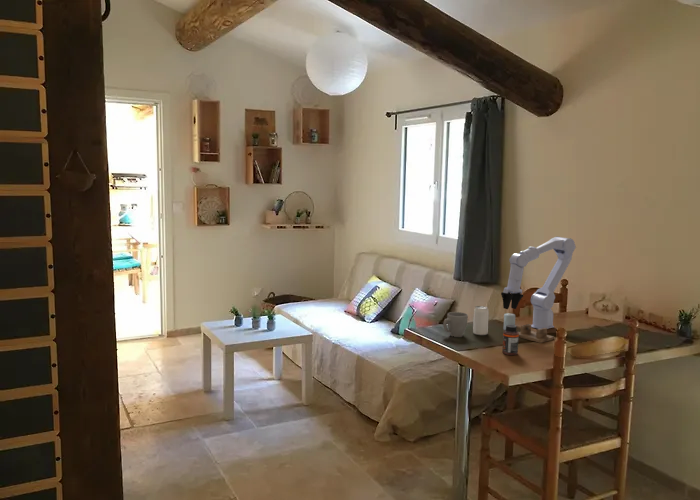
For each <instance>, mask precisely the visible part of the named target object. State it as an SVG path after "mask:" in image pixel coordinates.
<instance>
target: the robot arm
mask: <svg viewBox="0 0 700 500" xmlns="http://www.w3.org/2000/svg"><path fill="white" fill-rule="evenodd" d="M576 248H577V247H576V243H575V240H574V239H573V238H570V237H562V236H554V237H552V238H550V239H549V240H547V241H546V242H544V243H542V244H540V245H538V246H536V247H535V246H530V245H529V246H528V247H527V249H526V248H525V250H521V251H520V252H518V253H517V252H515V253H513V254H511V256H510V258H509V259H508V260H509V263H510V266H509V267H510V269H509V275H508V280H507V286H505V287H503V291H500V294H501V297H502V306H503V309H505V310H509V308H511V309H512V310H513V309H514V310H516V309H517V308H518V306H519V303H520V301H521V300H522V298H523V297H524V294H522V293H523V289H521V285H522V281H523V275H524V268H525V267H527V266H528V264H529V263H530V262H532V261H534V260H537V259H538V258H539V257H540V255H542V254H545V253H546V252H549V251H551V250H553V251H554V253H555V254H556V256H557V260H556V262H555V263H554V265H553V267H552V268H551V271H550V273H549V274H548V276H547V278H546V280H545V282H544V284H543V285H542V287H539V288H537V289H536V291H534V293H533V294H532V295H531V297H530V304H531V305H532V308H533V309H532V310H533V311H532V324H531V328H534V329H536V330H537V329H541V328H547V330H548V329H551V328H555V325H554V312H553V310H552V308H553V307H554V304H555V299H556V295H555V293H554V292H555V290H556V289H557V287H558V285H559V284H560V281H561V280H562V278H563V276H564V275H565V273H566V270H567V269H568V267H569V265H570V263H571V261H572V258H573V253H574V251H575V249H576Z"/></svg>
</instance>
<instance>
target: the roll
mask: <svg viewBox="0 0 700 500" xmlns="http://www.w3.org/2000/svg"><path fill="white" fill-rule="evenodd" d="M506 325H515V326H516V314H515V313H504V314H503V331H505V330H506Z"/></svg>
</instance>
